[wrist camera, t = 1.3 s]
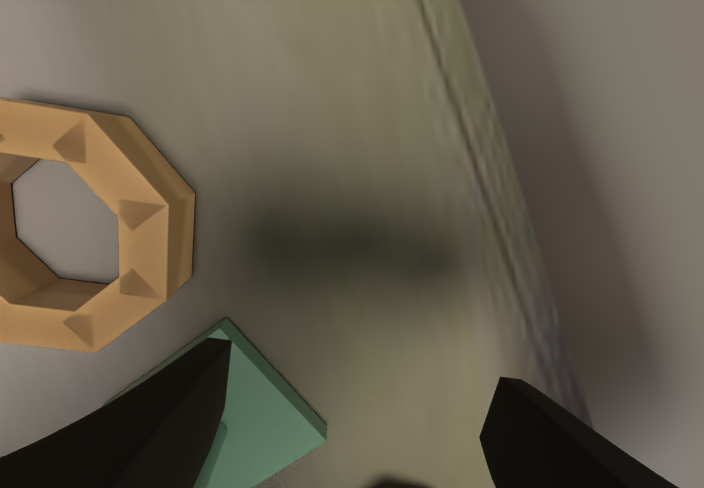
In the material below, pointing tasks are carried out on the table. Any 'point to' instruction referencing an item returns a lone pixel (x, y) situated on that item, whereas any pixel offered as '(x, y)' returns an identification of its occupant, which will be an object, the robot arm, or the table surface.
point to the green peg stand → (252, 418)
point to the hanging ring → (121, 197)
